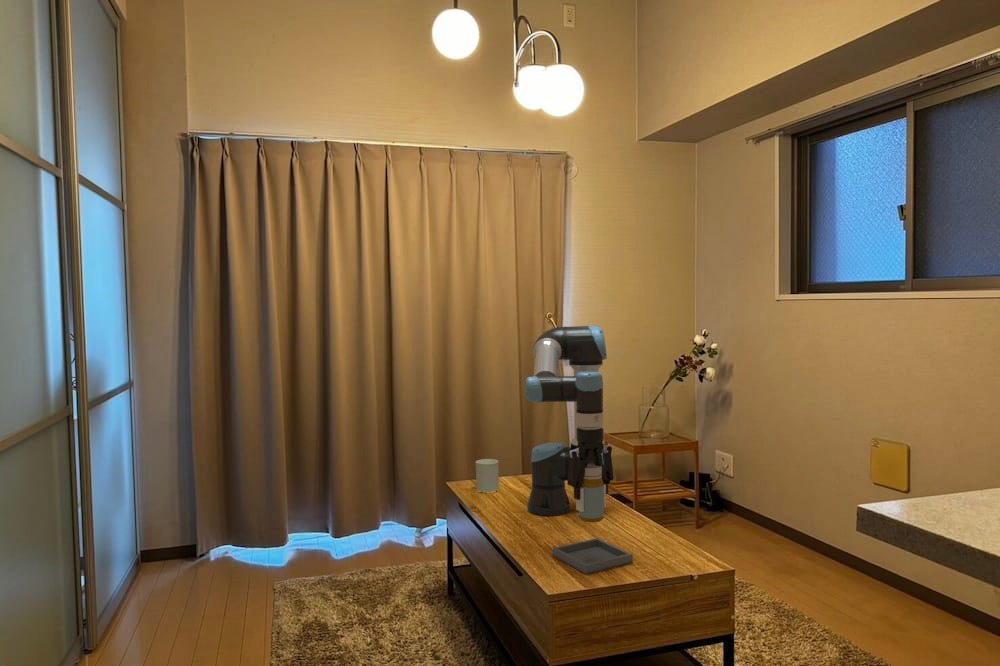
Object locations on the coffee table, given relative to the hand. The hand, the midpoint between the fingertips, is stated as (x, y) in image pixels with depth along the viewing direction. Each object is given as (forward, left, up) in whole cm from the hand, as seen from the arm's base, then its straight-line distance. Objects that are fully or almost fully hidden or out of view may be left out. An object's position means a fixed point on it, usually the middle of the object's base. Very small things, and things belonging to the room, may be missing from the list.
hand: (591, 508), depth 193 cm
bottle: (0, 0, -3) cm, 3 cm away
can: (-82, +10, -15) cm, 84 cm away
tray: (0, 0, -15) cm, 15 cm away
